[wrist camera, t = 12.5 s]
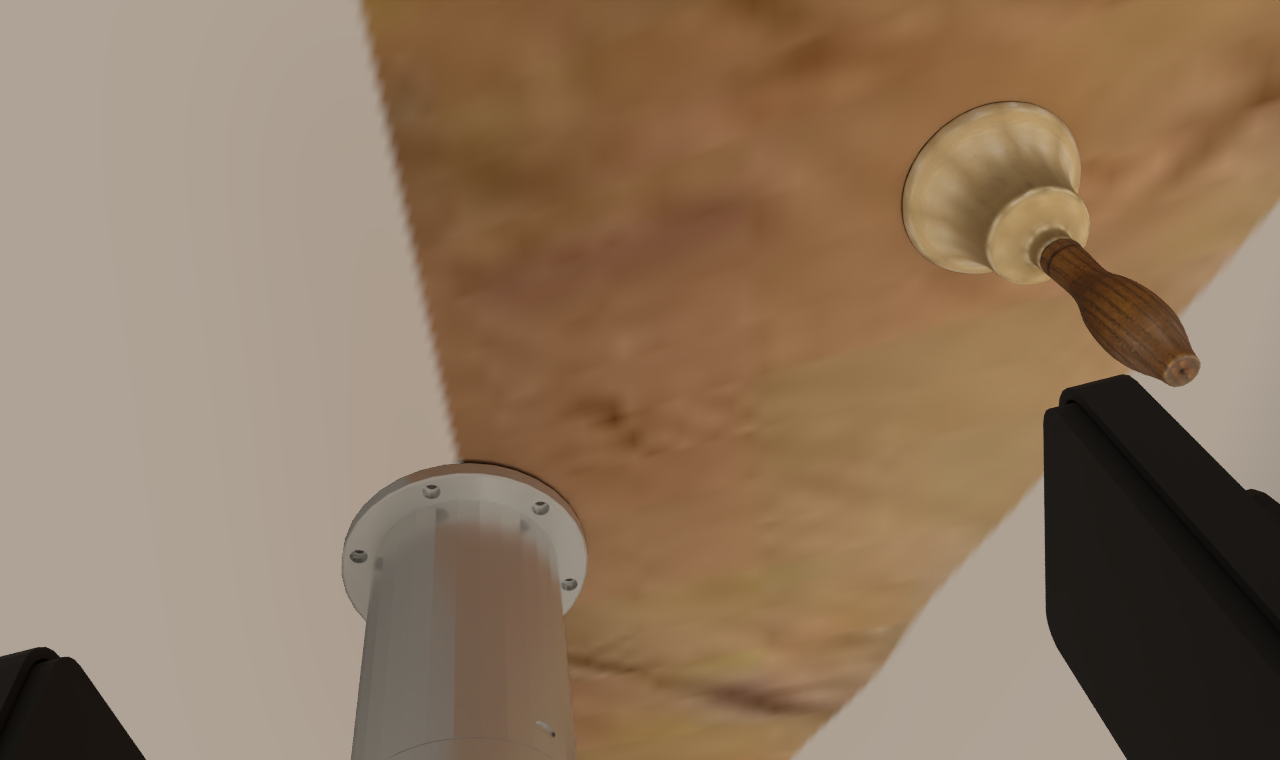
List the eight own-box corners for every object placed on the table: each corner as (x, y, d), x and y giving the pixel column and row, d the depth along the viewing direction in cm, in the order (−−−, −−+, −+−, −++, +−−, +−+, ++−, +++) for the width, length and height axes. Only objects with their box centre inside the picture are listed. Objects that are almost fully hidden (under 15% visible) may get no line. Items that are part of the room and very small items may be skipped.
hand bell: (937, 86, 47) (1120, 251, 34) (1107, 116, 49) (1345, 283, 35) (877, 259, 51) (1018, 466, 38) (1035, 280, 53) (1224, 485, 40)
